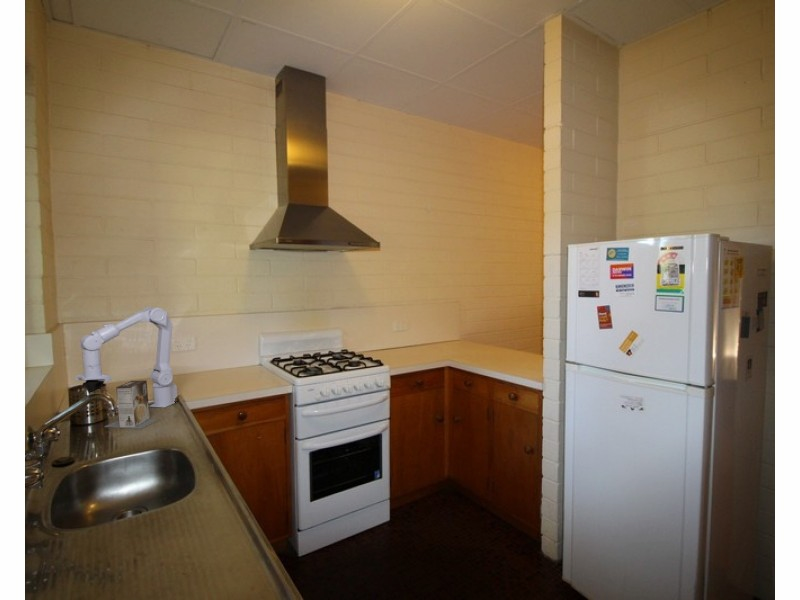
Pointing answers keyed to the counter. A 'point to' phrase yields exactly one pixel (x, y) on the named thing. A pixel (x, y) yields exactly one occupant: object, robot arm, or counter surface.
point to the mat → (142, 425)
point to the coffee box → (133, 403)
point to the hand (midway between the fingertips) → (95, 398)
